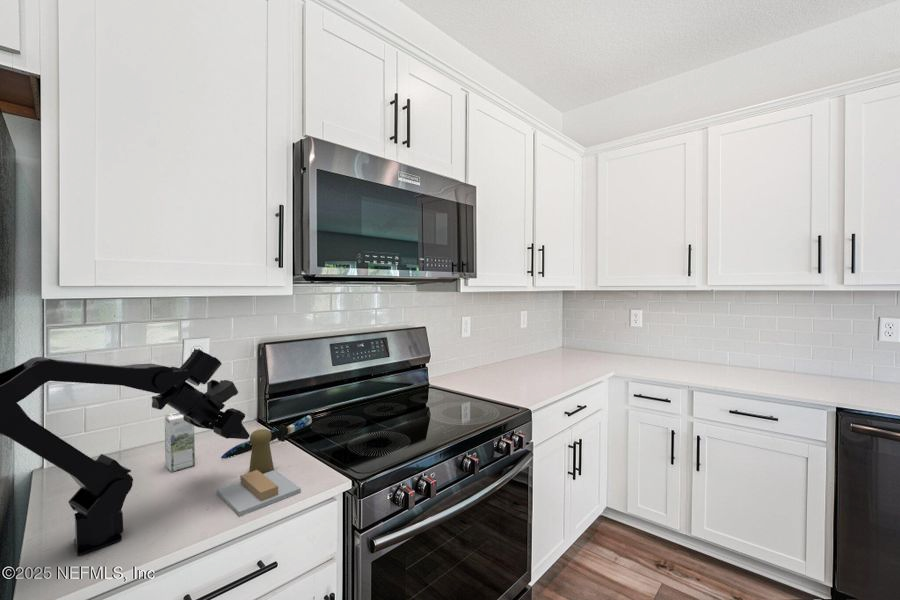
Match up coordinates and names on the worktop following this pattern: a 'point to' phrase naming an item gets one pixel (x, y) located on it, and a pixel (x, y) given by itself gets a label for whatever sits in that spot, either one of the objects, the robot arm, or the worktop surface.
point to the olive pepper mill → (261, 451)
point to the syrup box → (179, 442)
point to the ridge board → (250, 501)
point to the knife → (274, 435)
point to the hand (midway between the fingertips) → (238, 433)
